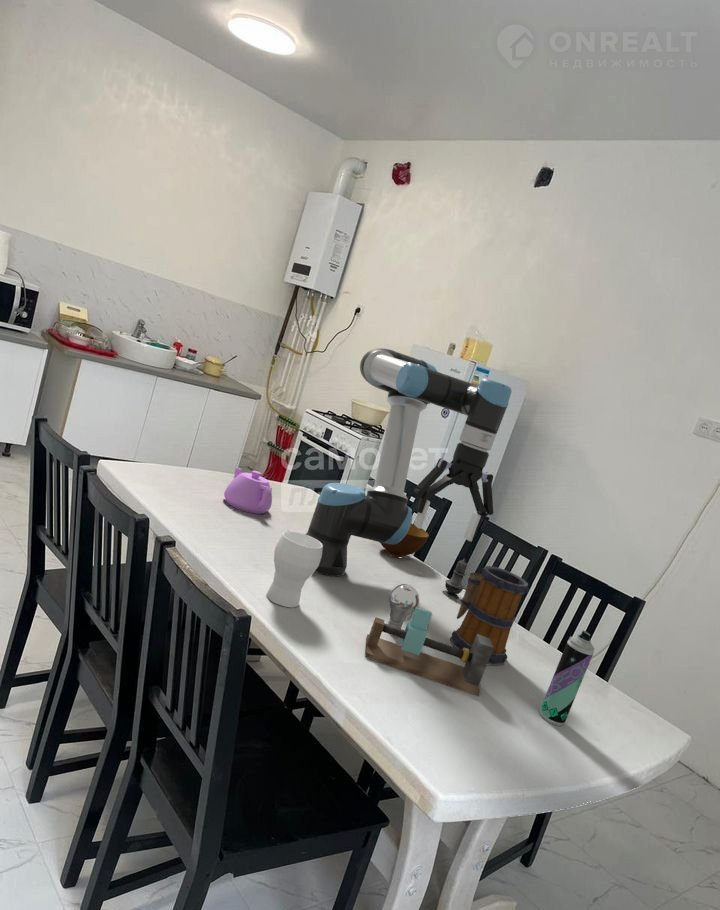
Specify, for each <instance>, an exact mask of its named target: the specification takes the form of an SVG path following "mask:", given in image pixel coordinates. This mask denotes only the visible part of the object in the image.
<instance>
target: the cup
mask: <svg viewBox="0 0 720 910" xmlns="http://www.w3.org/2000/svg"><path fill="white" fill-rule="evenodd" d="M322 549H323V545H322V543H321V542H320V541H318V540H317V539H315V538H313V537H311V536H308V535H306V533H302V532H297V531H294V530H286V531H283V533H282V534H281V536H280V537H279V539H278V541H277V542H276V545H275V547H274V551H273V554H274V555H273V565H274V568H275V571H274V576H273V580H272V582H271V585H270V586H269V588H268V590H267V592H266V598H267V599H268V600H269V601H271V602H272V603H274V604H275V605H279V606H281V607H286V608H296V607H298V606H299V605H300V599H301V594H302V590H303V587H304V585H305V583H306V581H307V580H308V579H309V578H310V577H312V575H314V574H315V573H316V572H315V570H316V569H317V567H318V566H319V563H320V560H321V557H322Z"/></svg>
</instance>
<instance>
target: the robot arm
mask: <svg viewBox="0 0 720 910" xmlns="http://www.w3.org/2000/svg"><path fill="white" fill-rule="evenodd" d="M359 370H360V374H361V376H362V378H363V379H364V380H365V382H367V383H368V384H369V385H371V386H373V387H374V388H376V389H379V390H381V391H384V392H387V398H386V401H387V402H388V404H389V405H390V410H389V413H388V419H387V422H386V423H387V424H386V428H385V433H384V438H383V442H382V448H381V451H380V457H379V462H378V467H377V470H376V474H375V479H374V480H375V481H374V485H373V486H372V487H371V488H369V489H368V490H367V493H366V491H365V490H364V489H363V488H361V487H359V486H354V485H352V484H348V483H343V482H330V483H327V484H325V485H324V486H323V487H322V490H321V491H320V492H321V493H320V495H319V496H318V497H317V503H316V506H315V509H314V511H313V515H312V517H311V520H310V523H309V527H308V530H307V532H306V533H305V535H308V536H311V537H313V538H315V539H317V540H318V541H320V542H321V543H322V545H323V549H322V557H321V560H320V563H319V566H318V567H317V569H316V570H315V572H314V573H317V574H321V575H324V576H331V577H338V576H339V577H340V576H343V575H345V573H346V570H347V566H348V545H349V542H350V539H351V536H354V537H358V538H361V539H366V540H370V541H373V542H376V543H377V542H378V543H379V544H381V543H387V544H397V543H399V542H400V541H401V540H402V539H403V538H404V537H405V536H406V534H407V532H408V530H409V528H410V525H411V523H412V521H413V511H412V508H411V507H409V506H408V505H407V504H408V501H409V500H408V499H409V498H408V497H407V495H406V494H405V488H406V487H405V486H406V483H407V478H408V473H409V468H410V463H411V458H412V454H413V448H414V444H415V439H416V433H417V430H418V425H419V424H418V423H419V419H420V414H421V412H423V411H424V410H425V409H427V405H430V404H431V405H432V404H433V405H435V406H437V407H440V408H444V409H447V410H449V411H452V412H455V413H459V414H461V415H463V416H467V417H466V420H465V422H464V425H463V428H462V431H461V433H460V436H459V439H458V440H459V441H460V442H458V443H457V444H456V447H455V450H454V452H453V456H452V460H451V461H450V462H448V461H447V460H445V459H444V458H441V457H440V458H438V460H437V463H436V464H435V466H434V467H433V468H432V470H430V472H429V473H427V474H426V476H424V478H423V479H422V480H421V481H420V482H419V483H418V484H417V485H416V487H414V488H413V492H414V493H415V494H416V495H417V496H418V497H419V498H418V502H417V504H416V507H415V511H416V512H417V513H416V516H415V520H414V522H413V524H414V525H415V526H416V527H417V528H420V529H422V526H423V524H424V521H425V518H426V515H427V514H428V511H429V507H430V504H431V501H430V500H429V499H431V498H432V497H434V496H435V495H436V494H438V493H440V492H441V491H442V490H444V489H446V488H447V487H448V486H451V485H453V484H455V485H457V486H463V487H464V488H468V489H469V491H470V495H471V498H472V501H473V504H474V507H475V510H476V511H472V514H471V515H470V519H469V522H468V523H467V524H468V525H467V527H466V530H465V532H464V535H463V538H464V539H466V540H467V541H468V542H472V541H473V538H474V536H475V533H476V530H477V529H479V528H480V527H481V525H482V522H483V519H484V518H486V517H488V515H489V516H492V515H493V514H494V503H493V487H492V486H493V485H492V484H493V480H494V475H493V474H491V473H490V472H488V471H485V472H483V470H484V468H485V467H486V464H487V462H488V459H489V456H490V453H489V452H488V451H492V447H493V445H494V442H495V440H496V436H497V433H498V432H499V429H500V426H501V424H502V421H503V419H504V417H505V413H506V411H507V408H508V406H509V403H510V402H509V401H510V399H511V394H512V392H513V391H512V387H510V386H509V385H506V384H505V383H503V382H502V383H501V382H499V381H496V380H493V379H489V378H482V379H481V380H480V382H479V384H474V383H471V382H469V381H465V380H463V379H459V378H457V377H454V376H451V375H447V374H444V373H442V372H440V371H438V370H437V367H435V366H434V365H433V364H431V363H428V362H426V361H425V360H424V359H423V360H422V359H418V358H415V357H412V356H409V355H406V354H404V353H400V352H397V351H396V350H393V349H388V348H383V347H382V348H380V347H379V348H374V349H371V350H368V352H366V353H365V354H364V355H363V356H362V358H361V361H360V363H359ZM446 470H448V472H447V473H446V474H444V475H443V476H442V474H443V473H444V472H445V471H446ZM441 476H442V477H441ZM440 477H441V478H440ZM439 478H440V479H439ZM437 479H438V480H437ZM480 480H481V481H482V482H481V484H482V485H481V487H482V496H481V493H480V490H479V489H480V486H479V483H478V481H480ZM482 498H483V499H482Z"/></svg>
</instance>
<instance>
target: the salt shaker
mask: <svg viewBox="0 0 720 910" xmlns="http://www.w3.org/2000/svg"><path fill="white" fill-rule="evenodd" d="M467 567H468V563H467V562H466V558H463V559H461V560H458V561H457V564H456V567H455V569H453V574H452V577H451V578H450V579H445V584H444V585H445V586H444V587H445V590H442V591H441V592H442V594H443V595H444V596H446V597H448V598H450V599H452V600H460V596H459V594H460V593H462V592H463V590H465V587H464V586H463V585H462V581H463V578H464V576H466V573H465V572H466V570H467Z"/></svg>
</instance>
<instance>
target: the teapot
mask: <svg viewBox="0 0 720 910" xmlns="http://www.w3.org/2000/svg"><path fill="white" fill-rule="evenodd" d="M272 491H273V488H272V487H271V485H270V482H269V480H268V479H266V478H265V477H263V476H262V472H260V471H257V470H251V472H242V468H240V467H235V472H234V475H233V479H232V481H230V482H229V484H228V485H227V486H226V488H225V490H224V494H223V496H224V499H225V500H226V504H228V505H229V506H231V507H233V508H235V509H237V510H240V511H242V512H246V513H250V514H255V515H256V514H257V515H259V514H260V515H261V514H265V513H266V512H268V511H269V510H270V509H271V508H272V503H273V493H272Z"/></svg>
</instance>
